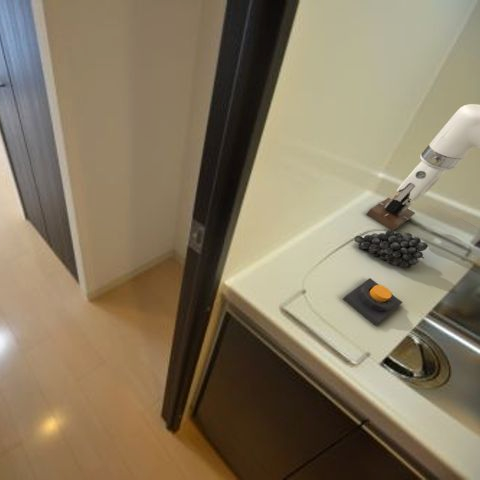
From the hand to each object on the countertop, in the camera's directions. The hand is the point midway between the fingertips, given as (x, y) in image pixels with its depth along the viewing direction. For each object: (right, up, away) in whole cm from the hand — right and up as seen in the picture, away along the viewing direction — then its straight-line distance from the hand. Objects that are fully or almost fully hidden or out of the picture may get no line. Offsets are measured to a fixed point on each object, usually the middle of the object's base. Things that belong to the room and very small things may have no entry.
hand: (393, 209), depth 95 cm
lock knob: (0, 0, 0) cm, 0 cm away
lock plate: (0, -2, +2) cm, 3 cm away
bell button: (-21, -22, -21) cm, 36 cm away
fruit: (-10, -13, -7) cm, 18 cm away
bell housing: (-21, -24, -18) cm, 37 cm away
